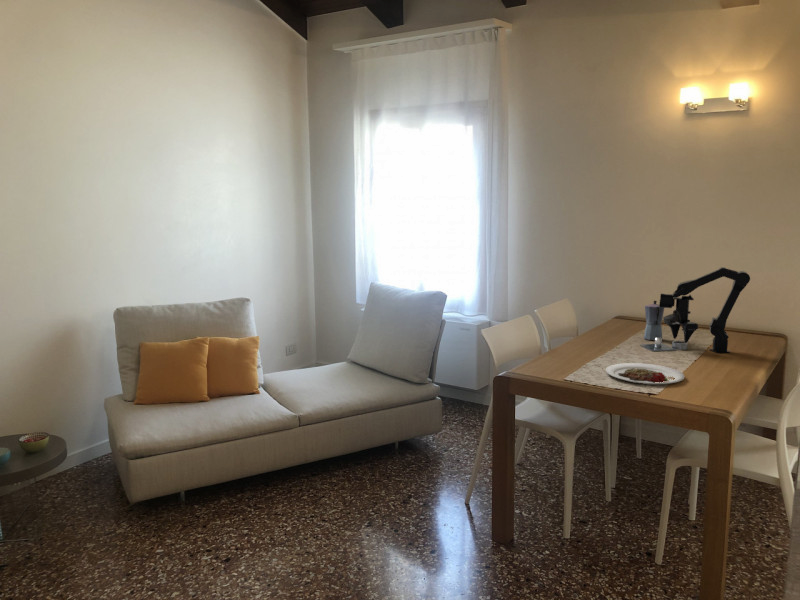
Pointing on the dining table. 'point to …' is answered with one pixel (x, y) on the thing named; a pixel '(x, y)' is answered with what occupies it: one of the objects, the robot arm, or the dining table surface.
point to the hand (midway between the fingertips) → (680, 340)
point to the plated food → (644, 373)
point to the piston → (658, 346)
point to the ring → (679, 345)
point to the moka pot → (653, 321)
